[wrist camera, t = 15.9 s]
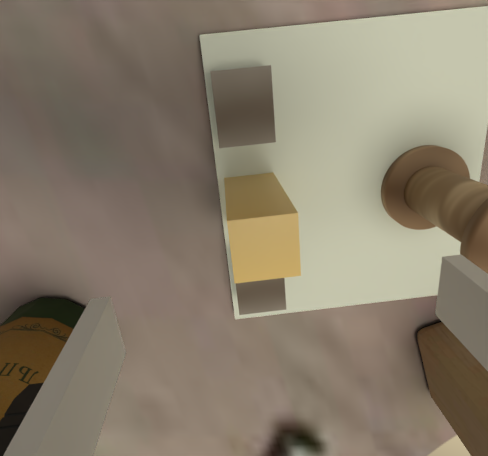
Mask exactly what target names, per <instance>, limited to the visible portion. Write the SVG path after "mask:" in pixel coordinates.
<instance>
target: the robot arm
mask: <svg viewBox="0 0 488 456" xmlns="http://www.w3.org/2000/svg"><path fill="white" fill-rule="evenodd" d="M435 315H436V316H437V317H438V318H439V319H440V320H441V321H442V322H443V323H444V324H445V326H446V327H447V328H448V329H449V330H450V331H451V332H452V333H453V334H454V335H455V336H456V337H457V339H458V340H459V341H460V342H461V343H462V344H463V345H464V346H465V347H466V348H467V349H468V351H469V352H470V353H471V354H472V355H473V356H474V357H475V358H476V359H477V360H478V361H479V362H480V364H481V365H482V366H483V367H484V368H485V369H486V370H487V371H488V274H487V273H486V272H485V271H483V270H482V269H480V268H479V267H478V266H476V265H475V264H474V263H472V262H471V261H469V260H468V259H467V258H465V257H464V256H463V255H453V256H444V257H442V263H441V271H440V279H439V287H438V295H437V303H436V310H435ZM125 354H126V351H125V347H124V343H123V340H122V336H121V333H120V329H119V325H118V322H117V318H116V314H115V311H114V307H113V304H112V300H111V297H102V298H94V299H90V301H89V303H88V304H87V306H86V308H85V310H84V312H83V313H82V315H81V317H80V319H79V321H78V322H77V324H76V326H75V328H74V330H73V331H72V333H71V335H70V337H69V339H68V340H67V342H66V344H65V346H64V347H63V349H62V351H61V353H60V355H59V356H58V358H57V360H56V362H55V364H54V365H53V367H52V369H51V371H50V373H49V374H48V376H47V378H46V380H45V381H44V383H36V384H29V385H28V386H27V387H26V388H25V389H24V390H23V391H22V392H21V393H20V394H18V395H17V396H16V397H15V398H14V400H13V401H12V403H11V404H10V406H9V408H8V409H7V411H6V412H5V414H4V417H3V418H2V419H1V420H0V456H93V454H94V451H95V448H96V445H97V441H98V438H99V435H100V432H101V429H102V426H103V423H104V420H105V417H106V414H107V410H108V407H109V404H110V401H111V398H112V395H113V392H114V389H115V386H116V382H117V379H118V376H119V373H120V370H121V367H122V364H123V361H124V358H125Z"/></svg>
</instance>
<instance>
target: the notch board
mask: <svg viewBox="0 0 488 456" xmlns="http://www.w3.org/2000/svg"><path fill="white" fill-rule="evenodd" d="M210 73H211V82H212V90H213V99H214V107H215V115H216V124H217V132H218V140H219V148H227V147H236V146H246V145H255V144H264V143H274V142H276V136H275V120H274V104H273V88H272V72H271V65H267V66H258V67H248V68H238V69H228V70H218V71H210ZM236 291H237V299H238V308H239V315H245V314H253V313H261V312H270V311H278V310H286V295H285V279H284V278H278V279H269V280H261V281H252V282H244V283H236Z"/></svg>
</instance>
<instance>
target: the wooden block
mask: <svg viewBox="0 0 488 456" xmlns="http://www.w3.org/2000/svg"><path fill="white" fill-rule="evenodd" d="M417 338H418V343H419V348H420V352H421V356H422V360H423V365H424V369H425V373H426V377H427V382H428V386H429V390H430V394H431V397H432V398H433V400H434V401H435V403H436V404H437V406H438V407H439V409H440V410H441V412H442V413H443V415H444V416H445V418H446V419H447V421H448V422H449V423H450V425H451V426H452V428H453V429H454V431H455V432H456V434H457V435H458V437H459V438H460V439H461V441H462V443H463V444H464V446H465V447H466V448H467V450H468V451H469V453H470V454H471V456H488V371H487V370H486V369H485V368H484V367H483V366H482V365H481V364H480V362H479V361H478V360H477V359H476V358H475V357H474V356H473V355H472V354H471V353H470V352H469V351H468V349H467V348H466V347H465V346H464V345H463V344H462V343H461V342H460V341H459V340H458V339H457V337H456V336H455V335H454V334H453V333H452V332H451V331H450V330H449V329H448V328H447V327H446V326H445V324H444V323H443V322H440V323H437V324H434V325H431V326H428V327H425V328H422V329H421V330H420V331H419V332H418V335H417Z"/></svg>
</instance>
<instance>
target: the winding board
mask: <svg viewBox="0 0 488 456" xmlns="http://www.w3.org/2000/svg"><path fill="white" fill-rule="evenodd" d="M199 36H200V44H201V52H202V60H203V68H204V76H205V84H206V92H207V99H208V107H209V115H210V123H211V131H212V139H213V147H214V155H215V163H216V171H217V179H218V187H219V195H220V203H221V211H222V219H223V227H224V235H225V243H226V251H227V259H228V267H229V275H230V283H231V291H232V299H233V307H234V315H235V319H242V318H250V317H259V316H267V315H275V314H284V313H292V312H300V311H309V310H317V309H326V308H334V307H342V306H351V305H359V304H367V303H376V302H384V301H392V300H401V299H409V298H417V297H426V296H434V295H438V287H439V279H440V271H441V263H442V257H444V256H453V255H460V246H461V242H460V241H458V240H457V239H455V238H454V237H452V236H451V235H449V234H448V233H446V232H445V231H443V230H441V229H440V228H438V227H437V226H436V227H433V228H430V229H424V230H415V229H409V228H406V227H404V226H402V225H400V224H399V223H398V222H396V221H395V220H394V219H392V218H391V217H390V216H389V215H388V214H387V212H386V211H385V209H384V207H383V204H382V200H381V186H382V182H383V179H384V176H385V174H386V172H387V170H388V169H389V167H390V166H391V164H392V163H393V162H394V161H395V160H396V159H397V158H398V157H399V156H401V155H402V154H403V153H405V152H407V151H408V150H410V149H413V148H415V147H418V146H423V145H436V146H440V147H444V148H447V149H450V150H452V151H454V152H456V153H457V154H458V155H460V156H461V157H462V158H463V160H464V161H465V163H466V165H467V167H468V170H469V174H470V179H472V180H475V181H478V182H479V180H480V173H481V166H482V159H483V153H484V146H485V139H486V132H487V125H488V6H483V7H473V8H463V9H453V10H443V11H433V12H423V13H413V14H403V15H393V16H383V17H373V18H363V19H353V20H343V21H333V22H323V23H313V24H303V25H293V26H283V27H273V28H263V29H253V30H242V31H232V32H222V33H212V34H202V35H199ZM267 65H271V72H272V88H273V104H274V120H275V136H276V142H274V143H264V144H255V145H246V146H236V147H227V148H219V140H218V132H217V124H216V115H215V107H214V99H213V90H212V82H211V73H210V71H218V70H228V69H238V68H248V67H258V66H267ZM264 173H274V174H275V176H276V178H277V179H278V181H279V183H280V184H281V186H282V187H283V189H284V191H285V192H286V194H287V196H288V197H289V199H290V200H291V202H292V204H293V205H294V207H295V209H296V210H297V212H298V220H299V242H300V264H301V276H295V277H286V278H284V279H285V295H286V310H278V311H270V312H261V313H253V314H245V315H239V308H238V299H237V291H236V283H235V284H234V275H233V267H232V259H231V251H230V243H229V234H228V226H227V215H226V200H225V184H224V178H228V177H237V176H246V175H255V174H264Z"/></svg>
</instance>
